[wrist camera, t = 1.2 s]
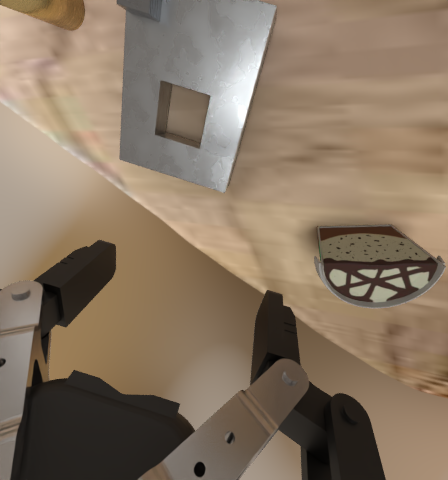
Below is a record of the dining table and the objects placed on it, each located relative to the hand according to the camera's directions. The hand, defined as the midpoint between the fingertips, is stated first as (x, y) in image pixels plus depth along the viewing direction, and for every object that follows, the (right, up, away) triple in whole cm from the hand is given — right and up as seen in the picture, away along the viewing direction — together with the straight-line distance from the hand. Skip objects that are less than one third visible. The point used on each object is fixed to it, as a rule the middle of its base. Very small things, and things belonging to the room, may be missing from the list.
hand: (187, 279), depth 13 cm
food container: (+20, +1, +23) cm, 30 cm away
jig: (-2, +19, +17) cm, 26 cm away
